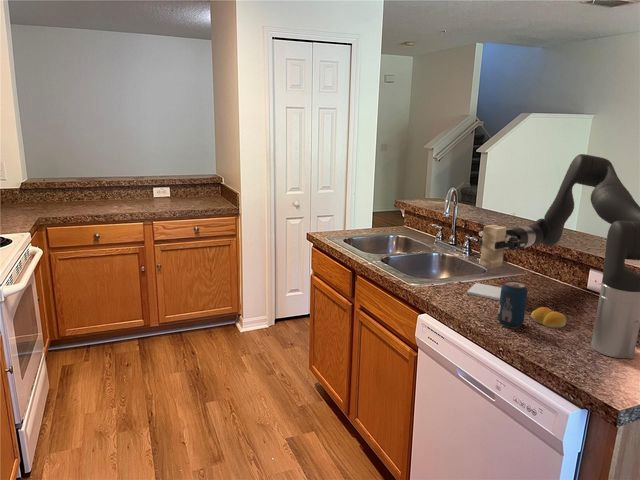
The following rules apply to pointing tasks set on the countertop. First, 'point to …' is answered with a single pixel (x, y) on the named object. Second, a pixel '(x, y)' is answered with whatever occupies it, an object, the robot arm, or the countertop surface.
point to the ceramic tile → (485, 291)
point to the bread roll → (548, 317)
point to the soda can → (512, 304)
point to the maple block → (492, 246)
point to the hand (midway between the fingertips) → (488, 244)
